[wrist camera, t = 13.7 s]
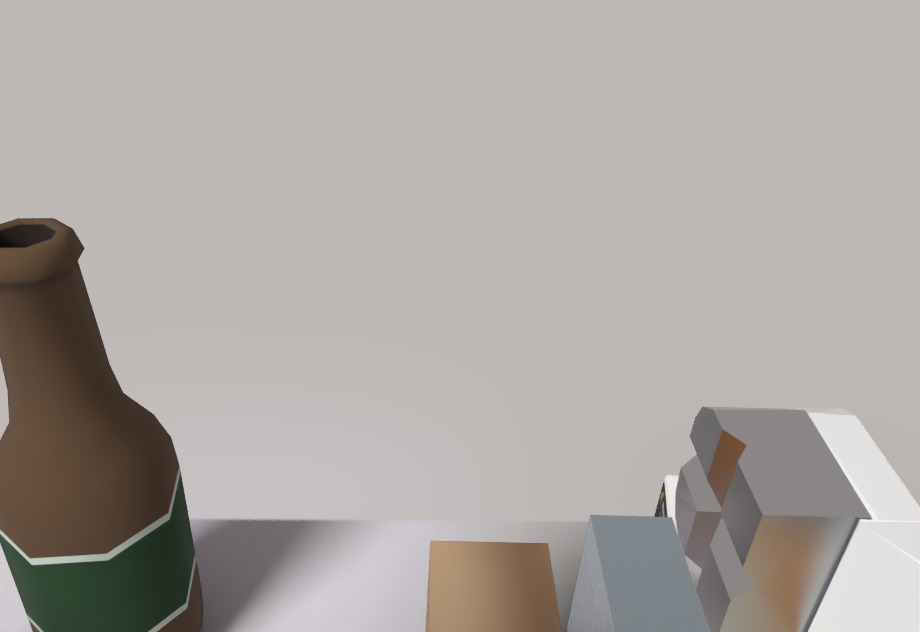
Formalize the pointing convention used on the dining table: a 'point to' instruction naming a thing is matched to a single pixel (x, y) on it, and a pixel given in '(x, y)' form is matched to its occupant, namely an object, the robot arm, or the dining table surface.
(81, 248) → the beer bottle
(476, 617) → the carriage
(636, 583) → the rail and cabinet
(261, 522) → the dining table surface
